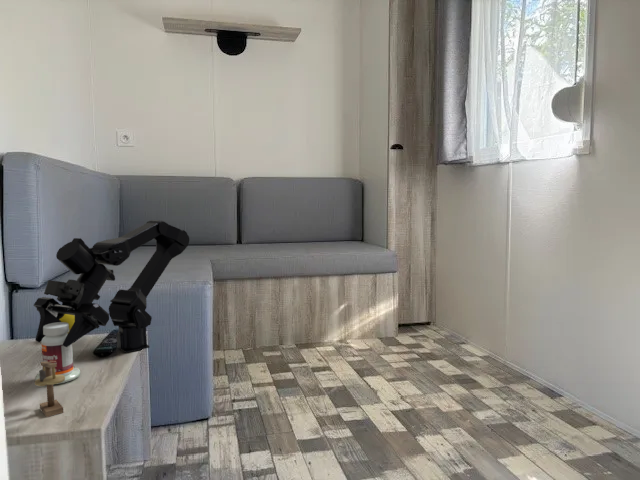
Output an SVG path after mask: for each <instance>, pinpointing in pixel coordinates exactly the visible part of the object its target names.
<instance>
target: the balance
mask: <svg viewBox="0 0 640 480" xmlns="http://www.w3.org/2000/svg"><path fill="white" fill-rule="evenodd" d="M40 366H41V367H42V369H40V370H39V373H38V374H39V376H40V378H39V379H37V380H36V379H35V380H34V385H35V386H37V387H44V386H46V399H47V400H46V401H44V402H40V403H39V409H40V411H41V412H42V414H43V415H44V416H45V417H46V418H48V417H52V416H56V415H59V414H63V413H64V407H63V406H62V404H61V403H60V402H59V400H57V399H55V389H54V385H59V384H58V383H61V382H63V381H64V380H65V376H64V375H55V367H57V365H56V363H52V362H47V361H45V362H42V361H41V362H40ZM61 384H62V383H61Z"/></svg>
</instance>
